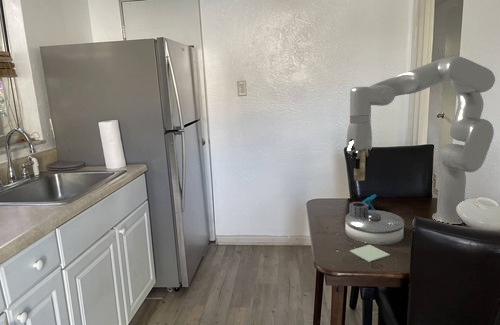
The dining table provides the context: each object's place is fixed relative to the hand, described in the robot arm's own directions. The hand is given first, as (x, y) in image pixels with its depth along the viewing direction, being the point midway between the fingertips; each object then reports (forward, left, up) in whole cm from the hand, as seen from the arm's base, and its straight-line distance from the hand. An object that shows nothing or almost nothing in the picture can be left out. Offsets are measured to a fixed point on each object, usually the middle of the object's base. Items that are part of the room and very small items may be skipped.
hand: (359, 167), depth 135 cm
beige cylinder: (0, 0, -5) cm, 5 cm away
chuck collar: (-1, +7, -21) cm, 22 cm away
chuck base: (-1, +7, -25) cm, 26 cm away
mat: (+13, +19, -25) cm, 34 cm away
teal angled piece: (-19, -16, -25) cm, 35 cm away
